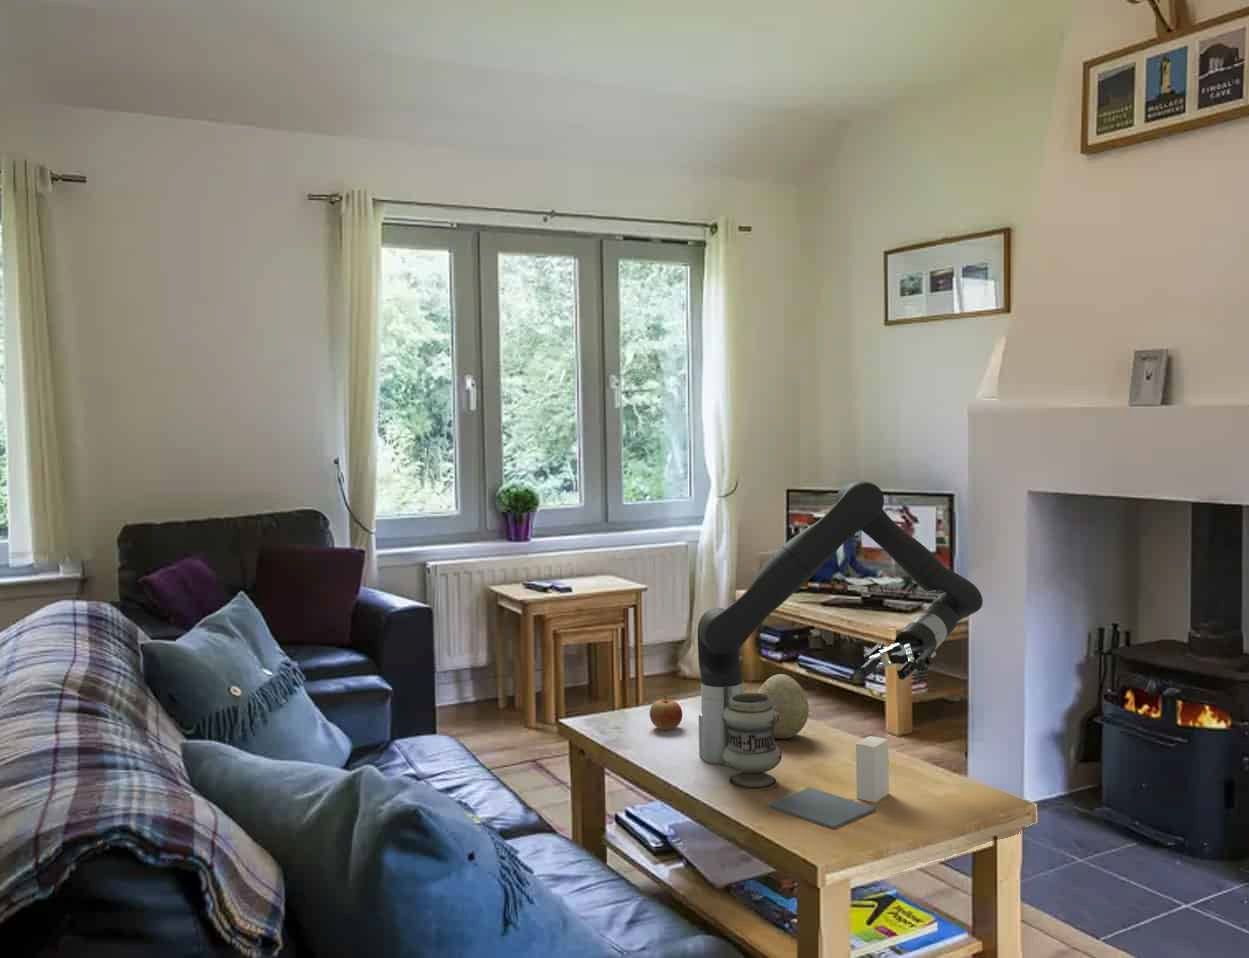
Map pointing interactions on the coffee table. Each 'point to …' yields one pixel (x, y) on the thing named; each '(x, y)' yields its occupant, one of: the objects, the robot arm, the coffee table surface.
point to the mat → (821, 807)
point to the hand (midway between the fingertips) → (881, 674)
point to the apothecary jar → (751, 741)
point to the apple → (665, 714)
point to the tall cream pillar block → (872, 769)
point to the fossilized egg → (787, 704)
